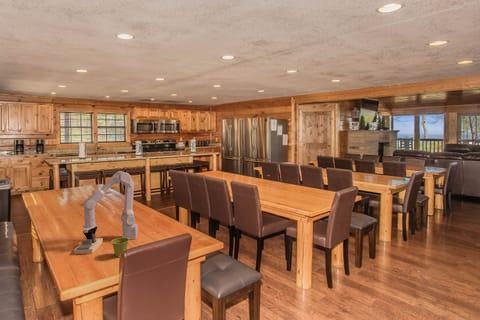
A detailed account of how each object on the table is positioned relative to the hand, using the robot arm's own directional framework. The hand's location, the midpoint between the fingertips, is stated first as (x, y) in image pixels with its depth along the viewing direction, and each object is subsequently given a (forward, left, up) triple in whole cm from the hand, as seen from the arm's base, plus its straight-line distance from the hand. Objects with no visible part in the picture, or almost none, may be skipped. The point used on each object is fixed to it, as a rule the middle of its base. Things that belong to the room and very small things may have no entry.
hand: (90, 240), depth 190 cm
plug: (0, 0, -3) cm, 4 cm away
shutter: (0, +9, -1) cm, 9 cm away
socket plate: (0, +3, -3) cm, 5 cm away
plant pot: (-22, +16, -4) cm, 27 cm away
